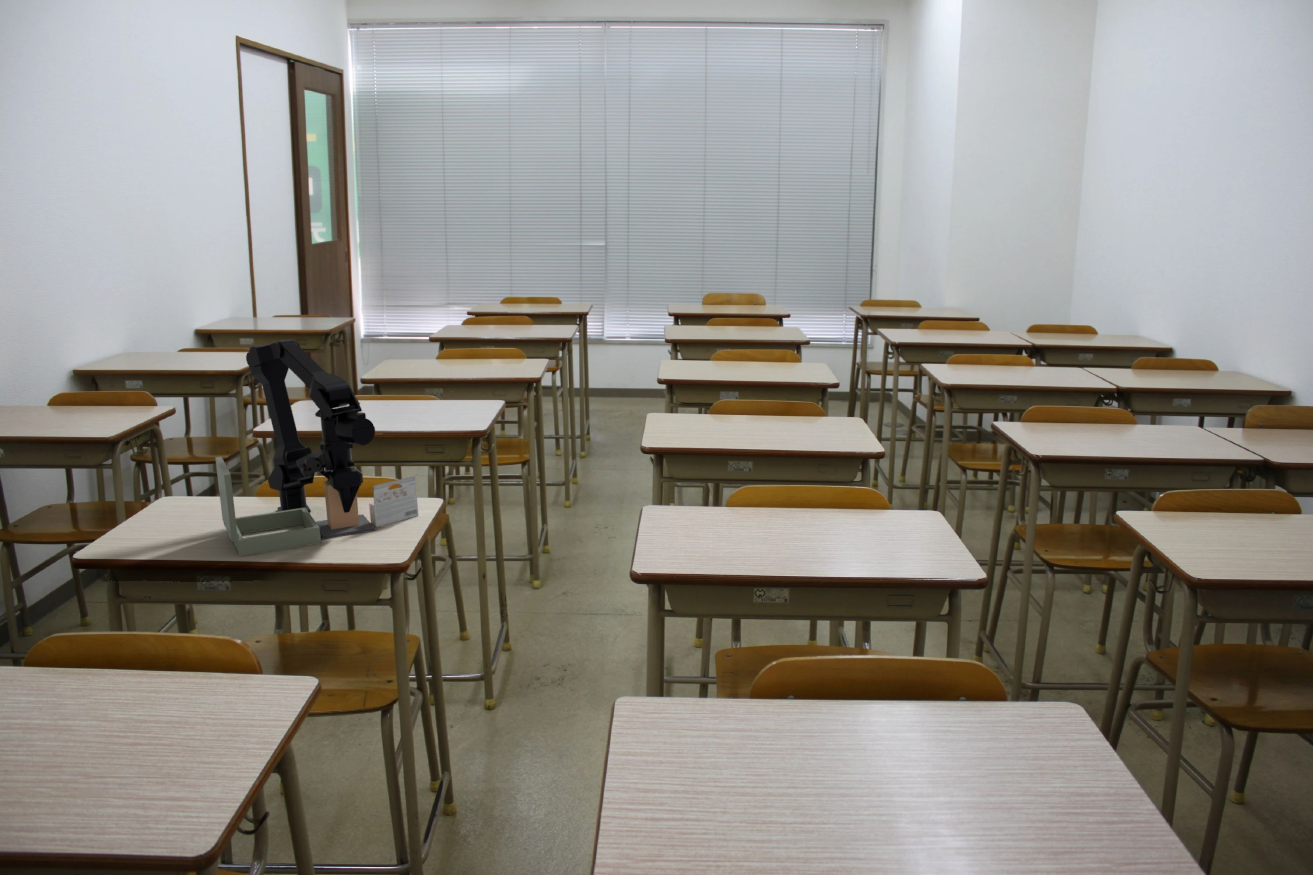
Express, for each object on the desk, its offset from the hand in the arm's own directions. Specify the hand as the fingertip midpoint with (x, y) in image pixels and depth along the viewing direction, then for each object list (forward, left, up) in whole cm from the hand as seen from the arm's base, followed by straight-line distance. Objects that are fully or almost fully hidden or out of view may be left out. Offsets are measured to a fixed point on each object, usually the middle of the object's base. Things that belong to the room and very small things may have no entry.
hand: (342, 506), depth 213 cm
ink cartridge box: (+1, +11, -5) cm, 12 cm away
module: (0, 0, -4) cm, 4 cm away
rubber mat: (0, 0, -5) cm, 5 cm away
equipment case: (0, -14, -5) cm, 15 cm away
